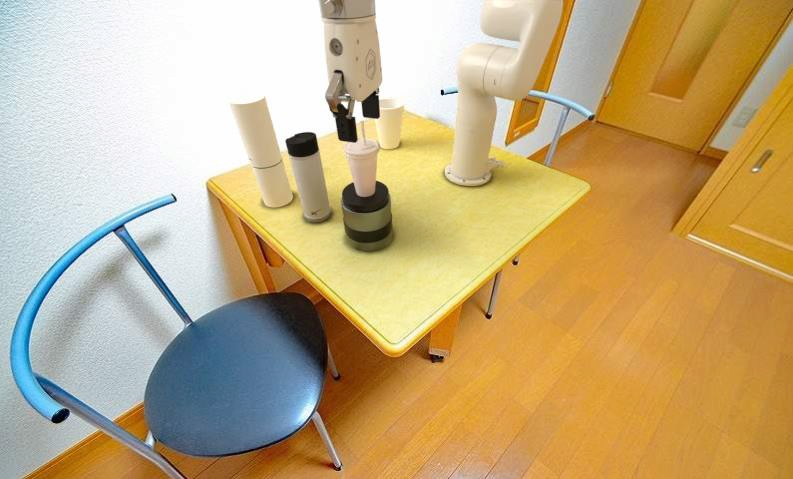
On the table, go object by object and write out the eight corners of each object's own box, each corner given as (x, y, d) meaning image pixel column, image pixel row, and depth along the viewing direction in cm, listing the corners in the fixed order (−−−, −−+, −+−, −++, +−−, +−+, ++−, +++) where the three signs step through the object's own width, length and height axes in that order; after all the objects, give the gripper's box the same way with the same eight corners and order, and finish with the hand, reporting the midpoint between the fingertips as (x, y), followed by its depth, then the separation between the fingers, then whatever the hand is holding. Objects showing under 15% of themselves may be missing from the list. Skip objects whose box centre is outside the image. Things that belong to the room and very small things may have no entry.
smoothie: (377, 202, 61) (372, 130, 52) (344, 199, 62) (334, 127, 53) (385, 184, 66) (381, 115, 56) (354, 181, 67) (346, 113, 57)
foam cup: (378, 137, 109) (375, 97, 100) (405, 138, 108) (405, 98, 99) (372, 150, 102) (369, 108, 93) (401, 152, 101) (401, 109, 92)
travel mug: (320, 226, 74) (301, 145, 61) (299, 217, 77) (277, 137, 63) (337, 212, 78) (323, 132, 65) (317, 204, 81) (299, 126, 67)
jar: (388, 218, 76) (386, 175, 68) (396, 248, 68) (395, 203, 61) (344, 224, 75) (337, 181, 67) (348, 255, 67) (340, 210, 59)
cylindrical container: (283, 188, 86) (254, 89, 70) (298, 198, 83) (271, 97, 66) (259, 199, 83) (221, 98, 66) (272, 211, 79) (237, 106, 62)
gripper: (344, 18, 37) (360, 155, 49) (394, -2, 49) (397, 112, 60) (288, 16, 39) (316, 148, 50) (349, -3, 51) (360, 108, 62)
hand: (360, 128), depth 55 cm, fingers open, 9 cm apart
